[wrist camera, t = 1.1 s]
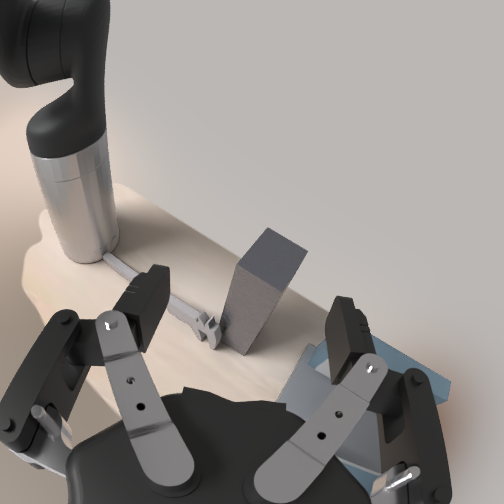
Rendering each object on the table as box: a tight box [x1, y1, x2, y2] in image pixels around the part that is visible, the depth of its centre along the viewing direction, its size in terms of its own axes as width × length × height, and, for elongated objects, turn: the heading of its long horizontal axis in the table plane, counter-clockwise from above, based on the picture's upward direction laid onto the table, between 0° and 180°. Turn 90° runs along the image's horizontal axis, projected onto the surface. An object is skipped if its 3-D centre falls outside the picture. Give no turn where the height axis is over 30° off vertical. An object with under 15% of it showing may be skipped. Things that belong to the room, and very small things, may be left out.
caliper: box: [102, 251, 222, 350], centre depth 33 cm, size 20×1×6 cm, turn 57°
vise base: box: [276, 335, 451, 474], centre depth 25 cm, size 17×16×9 cm
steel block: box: [219, 228, 308, 356], centre depth 29 cm, size 4×5×15 cm
